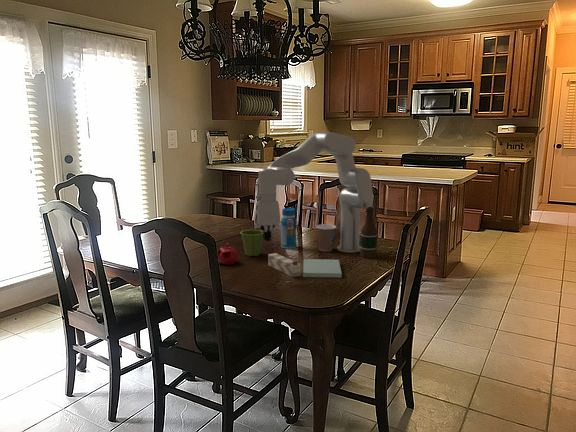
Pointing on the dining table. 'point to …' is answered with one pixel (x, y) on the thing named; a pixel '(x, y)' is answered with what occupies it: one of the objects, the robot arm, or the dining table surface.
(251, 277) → the dining table surface
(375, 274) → the dining table surface
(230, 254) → the pomegranate
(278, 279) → the dining table surface
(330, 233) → the coffee cup
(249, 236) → the plant pot
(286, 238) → the beverage bottle
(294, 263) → the beige patterned long block
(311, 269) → the pale green flat slab
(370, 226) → the beer bottle
